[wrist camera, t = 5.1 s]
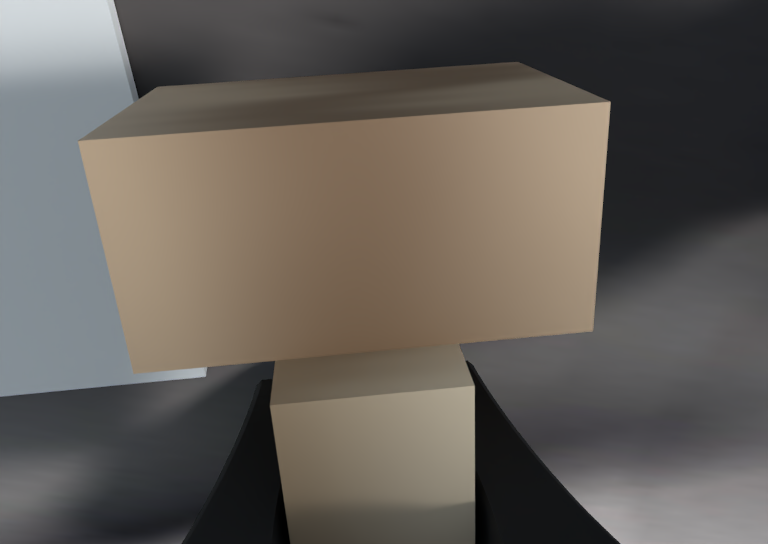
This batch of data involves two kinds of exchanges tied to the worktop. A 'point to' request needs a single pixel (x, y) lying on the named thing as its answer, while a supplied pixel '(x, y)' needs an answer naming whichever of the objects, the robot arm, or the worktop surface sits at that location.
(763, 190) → the worktop surface
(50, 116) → the grey mat
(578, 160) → the tan boxy piece
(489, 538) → the robot arm
